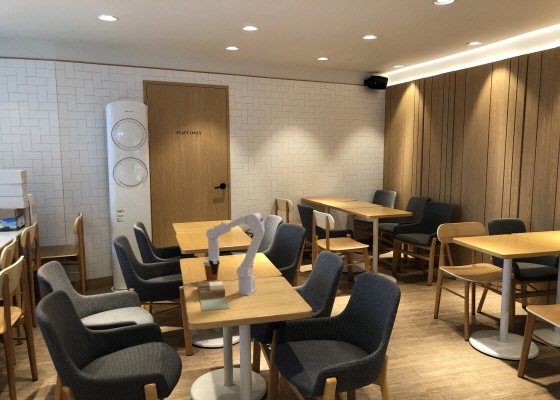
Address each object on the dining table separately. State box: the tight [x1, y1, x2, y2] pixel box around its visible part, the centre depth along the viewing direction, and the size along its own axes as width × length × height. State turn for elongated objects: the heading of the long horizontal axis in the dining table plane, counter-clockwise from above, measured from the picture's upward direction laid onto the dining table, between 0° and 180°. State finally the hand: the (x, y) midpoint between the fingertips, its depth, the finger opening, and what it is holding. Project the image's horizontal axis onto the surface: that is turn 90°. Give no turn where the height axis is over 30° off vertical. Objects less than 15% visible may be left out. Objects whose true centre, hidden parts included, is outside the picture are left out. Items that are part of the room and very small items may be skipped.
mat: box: [199, 296, 230, 312], centre depth 215 cm, size 17×13×1 cm
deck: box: [197, 279, 226, 300], centre depth 232 cm, size 20×13×4 cm, turn 14°
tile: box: [209, 280, 225, 290], centre depth 228 cm, size 7×7×2 cm
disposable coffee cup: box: [202, 259, 220, 281], centre depth 256 cm, size 10×10×12 cm
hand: (214, 273), depth 236 cm, fingers open, 2 cm apart
